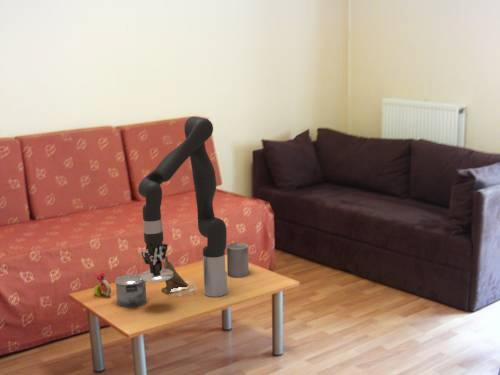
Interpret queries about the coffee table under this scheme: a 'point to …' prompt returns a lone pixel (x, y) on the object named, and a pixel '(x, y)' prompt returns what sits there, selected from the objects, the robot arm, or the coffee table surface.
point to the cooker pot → (130, 290)
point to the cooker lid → (156, 275)
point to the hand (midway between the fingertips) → (156, 271)
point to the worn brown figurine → (172, 279)
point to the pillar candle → (237, 260)
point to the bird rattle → (102, 286)
